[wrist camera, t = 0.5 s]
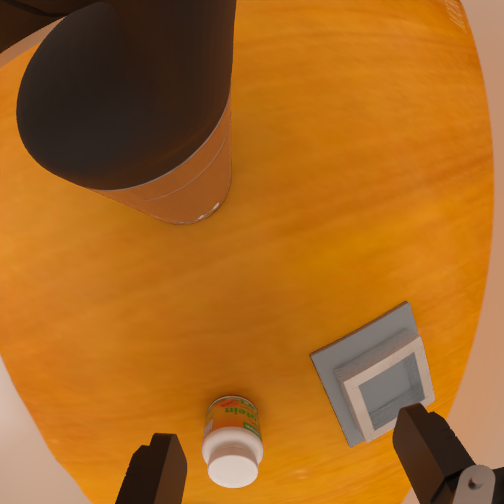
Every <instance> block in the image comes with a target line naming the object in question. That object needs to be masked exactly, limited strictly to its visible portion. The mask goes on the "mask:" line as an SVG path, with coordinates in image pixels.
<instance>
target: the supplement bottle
mask: <svg viewBox="0 0 504 504" xmlns="http://www.w3.org/2000/svg"><path fill="white" fill-rule="evenodd" d="M202 455H203V458H204V460H205V462H206V463H207V465H208V474H209V477H210V478H211V479H212V480H213V481H214V482H215V483H216V484H218V485H220V486H223V487H227V488H240V487H244V486H247V485H249V484H250V483H252V482H253V481H254V480H255V479H256V477H257V475H258V465H259V463H260V462H261V460H262V457H263V443H262V437H261V431H260V424H259V418H258V413H257V410H256V408H255V406H254V405H253V404H252V403H251V402H250V401H248V400H247V399H245V398H242V397H239V396H225V397H222V398H219V399H217V400H216V401H214V402H213V403H212V404H211V406H210V407H209V409H208V411H207V415H206V422H205V429H204V436H203V443H202Z"/></svg>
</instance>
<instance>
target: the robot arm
mask: <svg viewBox="0 0 504 504" xmlns="http://www.w3.org/2000/svg"><path fill="white" fill-rule="evenodd" d="M235 10H236V0H0V53H2V52H3V51H4V50H6V49H8V48H9V47H10V46H12V45H14V44H15V43H17V42H19V41H20V40H22V39H23V38H25V37H27V36H29V35H31V34H32V33H34V32H36V31H37V30H39V29H41V28H43V27H45V26H47V25H49V24H51V23H52V22H55V21H56V20H59V19H61V18H63V17H65V16H66V17H65V18H64V19H63V20H62V21H61V22H60V23H59V24H57V25H56V27H55V28H54V29H53V30H52V31H51V32H50V33H49V34H48V35H47V37H46V38H45V39H44V40H43V42H42V43H41V44H40V46H39V47H38V49H37V50H36V52H35V53H34V55H33V57H32V58H31V60H30V62H29V64H28V66H27V68H26V70H25V73H24V75H23V78H22V81H21V85H20V88H19V92H18V98H17V109H16V116H17V125H18V130H19V134H20V137H21V140H22V142H23V144H24V146H25V148H26V149H27V151H28V152H29V154H30V155H31V156H32V157H33V158H34V159H35V161H36V162H37V163H39V164H40V165H41V166H42V167H43V168H45V169H46V170H48V171H50V172H51V173H53V174H55V175H57V176H59V177H61V178H63V179H65V180H68V181H70V182H72V183H75V184H77V185H79V186H82V187H85V188H87V189H89V190H92V191H94V192H96V193H99V194H101V195H103V196H106V197H108V198H110V199H113V200H116V201H118V202H120V203H123V204H125V205H127V206H130V207H132V208H134V209H136V210H139V211H141V212H143V213H146V214H148V215H150V216H152V217H155V218H157V219H160V220H162V221H165V222H168V223H171V224H179V225H185V224H193V223H195V222H198V221H201V220H203V219H205V218H207V217H208V216H210V215H212V214H213V213H214V212H215V211H216V210H217V209H218V208H219V207H220V205H221V204H222V203H223V201H224V200H225V198H226V196H227V194H228V191H229V188H230V183H231V72H232V62H233V35H234V20H235ZM393 446H394V449H395V451H396V453H397V455H398V457H399V459H400V461H401V463H402V466H403V468H404V470H405V472H406V474H407V476H408V478H409V481H410V483H411V485H412V487H413V489H414V492H415V494H416V496H417V498H418V500H419V503H420V504H504V467H502V468H498V469H493V470H491V469H490V468H489V467H487V466H484V465H476V464H475V463H474V461H473V460H472V458H471V457H470V456H469V454H468V453H467V451H466V450H465V448H464V447H463V445H462V444H461V442H460V441H459V439H458V438H457V437H456V436H455V433H454V432H453V431H452V429H450V427H449V425H448V423H447V422H446V421H445V419H444V418H443V417H441V416H440V415H438V414H437V413H435V412H434V411H433V412H430V413H428V412H427V411H426V409H425V408H424V406H423V405H422V404H421V403H416V404H413V405H409V406H406V407H402V408H400V410H399V413H398V417H397V421H396V424H395V428H394V432H393ZM186 475H187V461H186V457H185V455H184V452H183V450H182V447H181V445H180V442H179V440H178V437H177V435H176V434H166V433H154V435H153V437H152V439H151V442H150V445H149V446H145V445H142V446H141V447H140V448H139V449H138V450H137V451H136V452H135V453H134V454H133V456H132V458H131V461H130V464H129V467H128V469H127V472H126V476H125V477H124V480H123V483H122V486H121V488H120V491H119V494H118V497H117V500H116V502H115V504H181V502H182V496H183V491H184V486H185V480H186Z"/></svg>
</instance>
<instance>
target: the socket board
mask: <svg viewBox="0 0 504 504" xmlns="http://www.w3.org/2000/svg"><path fill="white" fill-rule="evenodd" d="M310 357H311V359H312V361H313V364H314V366H315V368H316V370H317V373H318V375H319V377H320V380H321V382H322V384H323V386H324V389H325V391H326V393H327V396H328V398H329V400H330V403H331V405H332V407H333V409H334V412H335V414H336V416H337V419H338V421H339V423H340V426H341V428H342V430H343V433H344V435H345V437H346V440H347V442H348V444H349V446H350V448H351V447H353V446H355V445H357V444H359V443H360V442H362V441H364V440H365V441H366V443H368V442H370V441H372V440H374V439H376V438H377V437H379V436H381V435H383V434H384V433H386V432H388V431H389V430H391V429H393V428H394V427H395V424H396V421H397V417H398V413H399V410H400V408H402V407H406V406H409V405H413V404H416V403H421V404H422V405H423V406H424V408H425V407H426V406H428V405H429V404H431V403H432V402H434V401H435V397H434V392H433V387H432V382H431V377H430V372H429V368H428V363H427V359H426V355H425V351H424V347H423V343H422V339H421V336H420V335H419V334H418V331H417V327H416V324H415V320H414V317H413V313H412V310H411V307H410V303H409V302H407V301H405V302H403V303H402V304H400V305H398V306H397V307H395V308H394V309H392V310H390V311H389V312H387V313H385V314H383V315H382V316H380V317H378V318H377V319H375V320H373V321H371V322H370V323H368V324H366V325H364V326H363V327H361V328H359V329H357V330H355V331H354V332H352V333H350V334H348V335H346V336H344V337H342V338H341V339H339V340H337V341H335V342H333V343H331V344H329V345H327V346H325V347H323V348H321V349H319V350H317V351H315V352H313V353H311V354H310Z"/></svg>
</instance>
